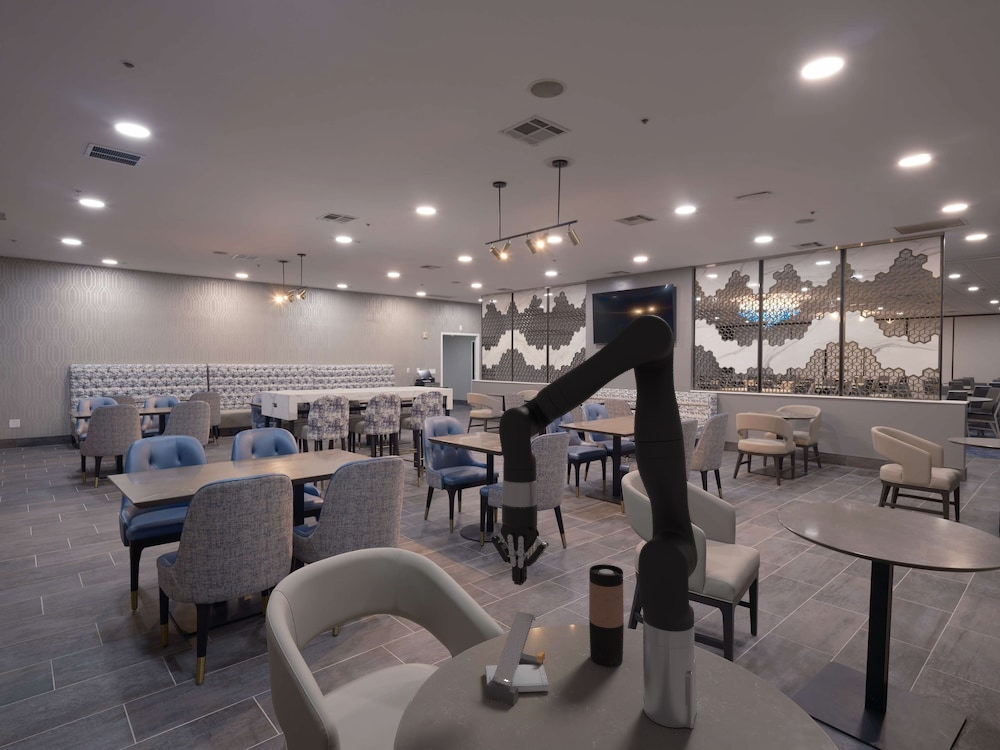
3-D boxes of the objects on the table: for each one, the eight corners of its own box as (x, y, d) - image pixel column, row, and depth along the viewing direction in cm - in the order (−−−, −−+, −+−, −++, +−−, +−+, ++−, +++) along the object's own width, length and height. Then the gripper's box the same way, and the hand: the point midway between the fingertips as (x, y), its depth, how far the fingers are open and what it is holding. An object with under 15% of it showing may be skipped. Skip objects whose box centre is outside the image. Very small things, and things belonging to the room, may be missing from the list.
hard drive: (487, 686, 106) (548, 683, 106) (485, 664, 114) (542, 662, 115) (487, 694, 106) (549, 692, 106) (485, 672, 114) (542, 670, 115)
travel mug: (583, 653, 122) (583, 566, 123) (613, 648, 124) (612, 562, 125) (599, 670, 115) (599, 577, 115) (630, 664, 117) (629, 573, 118)
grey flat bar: (535, 619, 114) (533, 614, 113) (512, 690, 104) (509, 685, 103) (518, 615, 116) (516, 610, 115) (494, 685, 106) (491, 680, 105)
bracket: (544, 670, 115) (544, 652, 115) (515, 706, 102) (515, 686, 102) (516, 662, 118) (516, 645, 118) (484, 696, 105) (484, 677, 105)
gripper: (555, 501, 112) (555, 583, 112) (500, 494, 118) (499, 572, 118) (541, 508, 106) (541, 596, 105) (483, 501, 112) (483, 584, 112)
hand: (519, 583), depth 112 cm, fingers closed
